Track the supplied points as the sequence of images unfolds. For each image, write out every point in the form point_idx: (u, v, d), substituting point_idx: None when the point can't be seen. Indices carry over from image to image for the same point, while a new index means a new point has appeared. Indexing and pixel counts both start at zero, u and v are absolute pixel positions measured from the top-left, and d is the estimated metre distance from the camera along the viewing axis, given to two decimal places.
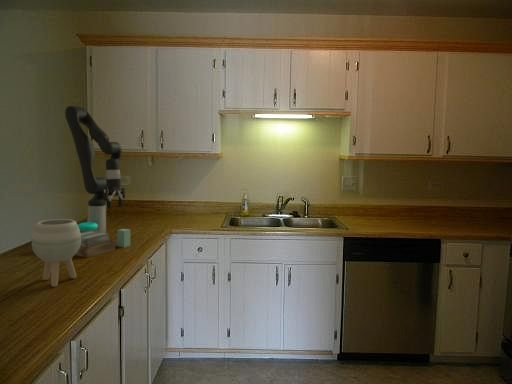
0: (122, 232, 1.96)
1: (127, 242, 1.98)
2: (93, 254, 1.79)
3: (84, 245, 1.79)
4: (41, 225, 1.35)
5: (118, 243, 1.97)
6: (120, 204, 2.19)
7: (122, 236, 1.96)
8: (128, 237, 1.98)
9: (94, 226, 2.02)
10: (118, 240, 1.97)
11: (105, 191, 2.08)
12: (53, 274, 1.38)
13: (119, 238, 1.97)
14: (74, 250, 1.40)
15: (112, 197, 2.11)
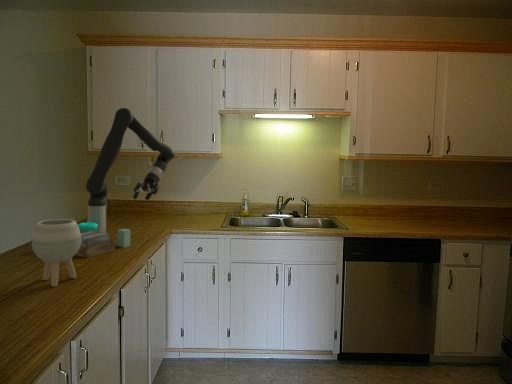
0: (122, 232, 1.96)
1: (127, 242, 1.98)
2: (93, 254, 1.79)
3: (84, 245, 1.79)
4: (41, 225, 1.35)
5: (118, 243, 1.97)
6: (135, 197, 2.10)
7: (122, 236, 1.96)
8: (128, 237, 1.98)
9: (94, 226, 2.02)
10: (118, 240, 1.97)
11: (158, 186, 2.10)
12: (53, 274, 1.38)
13: (119, 238, 1.97)
14: (74, 250, 1.40)
15: None
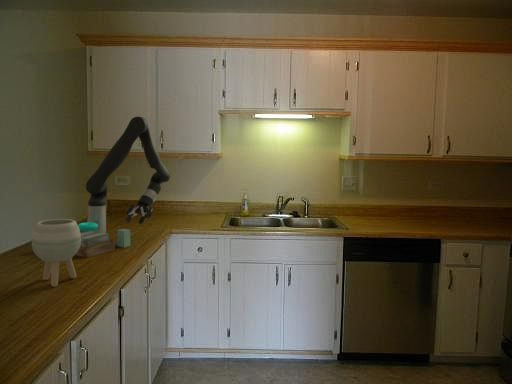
0: (122, 232, 1.96)
1: (127, 242, 1.98)
2: (93, 254, 1.79)
3: (84, 245, 1.79)
4: (41, 225, 1.35)
5: (118, 243, 1.97)
6: (128, 220, 2.07)
7: (122, 236, 1.96)
8: (128, 237, 1.98)
9: (94, 226, 2.02)
10: (118, 240, 1.97)
11: (152, 210, 2.07)
12: (53, 274, 1.38)
13: (119, 238, 1.97)
14: (74, 250, 1.40)
15: None
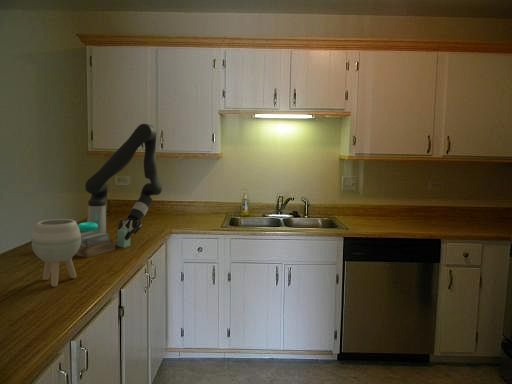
0: (122, 232, 1.96)
1: (127, 242, 1.98)
2: (93, 254, 1.79)
3: (84, 245, 1.79)
4: (41, 225, 1.35)
5: (118, 243, 1.97)
6: None
7: (122, 236, 1.96)
8: None
9: (94, 226, 2.02)
10: (118, 240, 1.97)
11: (140, 226, 2.00)
12: (53, 274, 1.38)
13: (119, 238, 1.97)
14: (74, 250, 1.40)
15: None
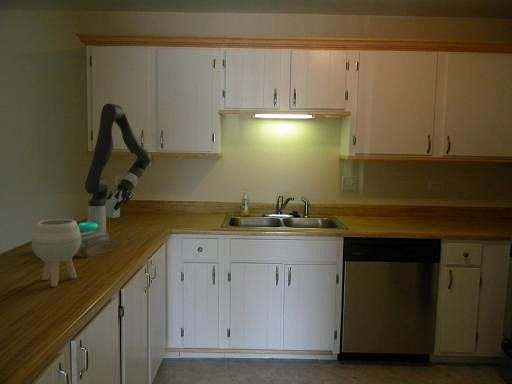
0: (111, 202, 1.90)
1: (116, 212, 1.93)
2: (93, 254, 1.79)
3: (84, 245, 1.79)
4: (41, 225, 1.35)
5: (107, 213, 1.92)
6: None
7: (111, 206, 1.91)
8: None
9: (94, 226, 2.02)
10: (107, 210, 1.92)
11: (130, 196, 1.95)
12: (53, 274, 1.38)
13: (108, 208, 1.92)
14: (74, 250, 1.40)
15: None
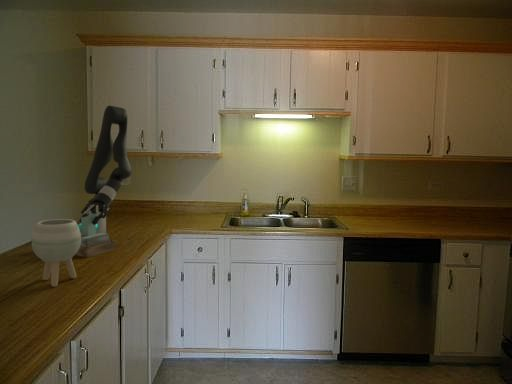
0: (86, 219, 1.83)
1: (92, 230, 1.86)
2: (93, 254, 1.79)
3: (84, 245, 1.79)
4: (41, 225, 1.35)
5: (82, 231, 1.85)
6: None
7: (86, 224, 1.84)
8: (93, 225, 1.86)
9: None
10: (82, 228, 1.85)
11: (108, 209, 1.88)
12: (53, 274, 1.38)
13: (83, 226, 1.84)
14: (74, 250, 1.40)
15: None
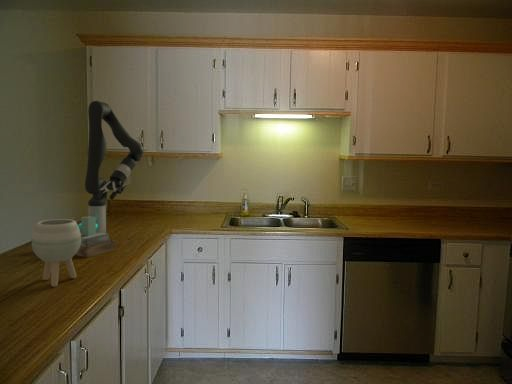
0: (86, 219, 1.83)
1: (92, 230, 1.86)
2: (93, 254, 1.79)
3: (84, 245, 1.79)
4: (41, 225, 1.35)
5: (82, 231, 1.85)
6: (100, 196, 1.96)
7: (86, 224, 1.84)
8: (93, 225, 1.86)
9: None
10: (82, 228, 1.85)
11: (124, 185, 1.97)
12: (53, 274, 1.38)
13: (83, 226, 1.84)
14: (74, 250, 1.40)
15: None
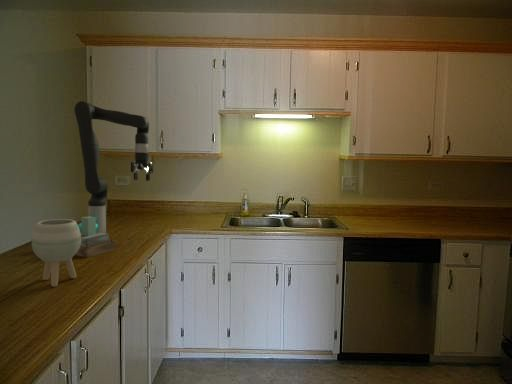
0: (86, 219, 1.83)
1: (92, 230, 1.86)
2: (93, 254, 1.79)
3: (84, 245, 1.79)
4: (41, 225, 1.35)
5: (82, 231, 1.85)
6: (136, 178, 2.23)
7: (86, 224, 1.84)
8: (93, 225, 1.86)
9: None
10: (82, 228, 1.85)
11: (151, 164, 2.18)
12: (53, 274, 1.38)
13: (83, 226, 1.84)
14: (74, 250, 1.40)
15: None
